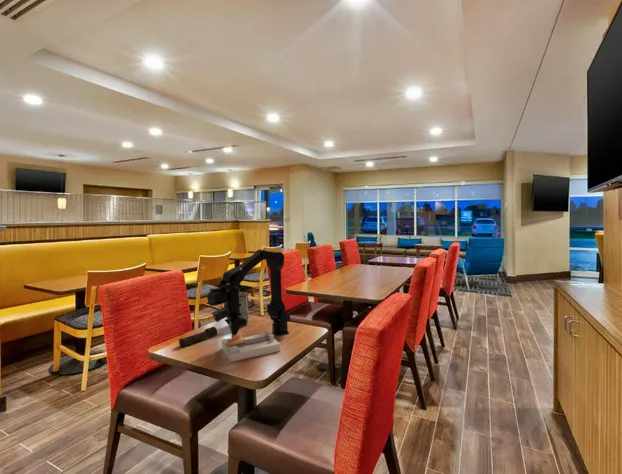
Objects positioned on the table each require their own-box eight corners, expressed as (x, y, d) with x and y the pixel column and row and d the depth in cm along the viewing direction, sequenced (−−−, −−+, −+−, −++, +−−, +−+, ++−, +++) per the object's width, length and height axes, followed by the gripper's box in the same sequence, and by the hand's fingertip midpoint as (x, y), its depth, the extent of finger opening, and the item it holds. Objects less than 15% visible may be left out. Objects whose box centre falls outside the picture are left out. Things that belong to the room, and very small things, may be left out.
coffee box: (237, 320, 181) (236, 291, 180) (249, 320, 181) (248, 291, 180) (234, 326, 172) (233, 295, 171) (247, 325, 172) (246, 295, 171)
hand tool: (183, 348, 144) (182, 338, 144) (178, 346, 147) (178, 336, 146) (220, 336, 158) (220, 327, 158) (215, 334, 161) (215, 325, 161)
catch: (243, 339, 141) (242, 332, 141) (245, 342, 138) (245, 335, 138) (226, 342, 138) (226, 335, 138) (229, 345, 135) (228, 339, 134)
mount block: (267, 339, 152) (267, 327, 152) (280, 350, 139) (279, 337, 139) (221, 348, 143) (221, 335, 142) (230, 361, 129) (230, 347, 129)
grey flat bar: (268, 337, 147) (268, 335, 146) (271, 339, 143) (271, 338, 143) (235, 343, 140) (235, 342, 139) (237, 346, 136) (237, 344, 136)
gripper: (208, 298, 144) (210, 333, 145) (218, 309, 128) (219, 348, 129) (234, 295, 150) (235, 329, 151) (246, 304, 133) (247, 342, 134)
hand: (234, 337), depth 141 cm, fingers closed
